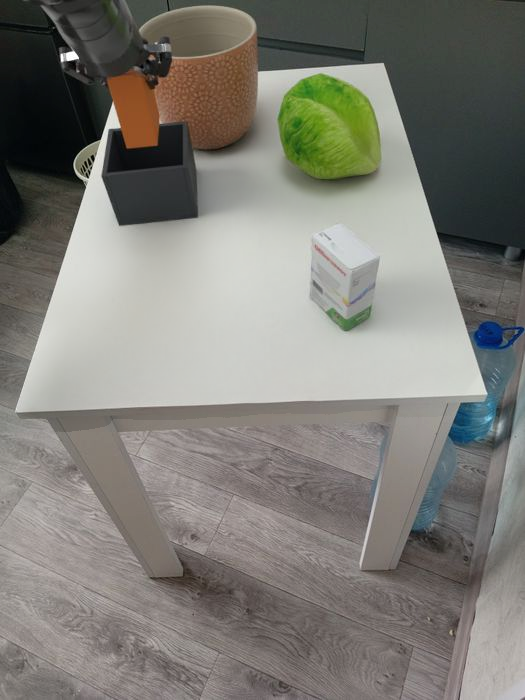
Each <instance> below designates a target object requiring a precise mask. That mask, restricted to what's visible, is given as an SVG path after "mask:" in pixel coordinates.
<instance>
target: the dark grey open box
mask: <svg viewBox="0 0 525 700" xmlns="http://www.w3.org/2000/svg"><path fill="white" fill-rule="evenodd" d="M106 137H107V138H106V143H105V150H104V157H103V163H102V170H101V175H100V176H101V179H102V183H103V185H104V188H105V190H106V193H107V196H108V199H109V202H110V205H111V207H112V210H113V213H114V217H115V219H116V221H117V224H118V226H127V225H139V224H148V223H155V222H156V223H157V222H166V221H177V220H185V219H193V218H196V219H197V218H199V215H198V214H199V211H198V209H199V207H198V206H199V205H198V179H197V178H198V174H197V173H198V172H197V167H196V160H195V155H194V150H193V149H194V148H192V143H191V138H190V132H189V127H188V121H183V122H174V123H164V124H162V123H159V133H158V145H157V146H147V147H137V148H127V147H126V143H125V140H124V137H123V133H122V130H121V127H117V128H108V131H107V136H106Z"/></svg>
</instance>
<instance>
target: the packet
mask: <svg viewBox="0 0 525 700" xmlns="http://www.w3.org/2000/svg"><path fill="white" fill-rule="evenodd" d="M107 82H108V86H109V89H110V90H109V89H108V90H109V93H110V95H111V99H112V102H113V106H114V109H115V113H116V116H117V120H118V122H119V127H120V128H121V130H122V133H123V137H124V140H125V143H126V147H127V148H137V147H147V146H157V145H158V133H159V124H160V115H159V111H158V106H157V102H156V98H155V93H154V89H150V88H149V86H148V84H147V83H146V81H145V79H144V78H142V77H135V76H134V75H132V74H131V73H125V74H123V75H121V76H117V77H111V80H107Z"/></svg>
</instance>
